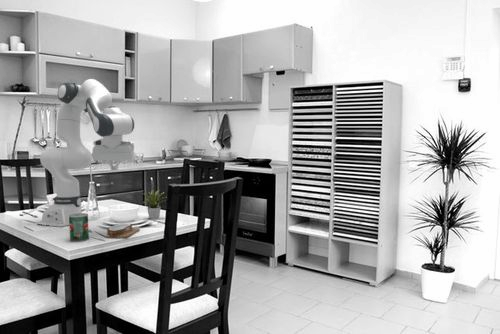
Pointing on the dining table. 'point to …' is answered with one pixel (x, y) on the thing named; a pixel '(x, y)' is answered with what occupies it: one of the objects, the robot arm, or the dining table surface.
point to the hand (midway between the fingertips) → (114, 170)
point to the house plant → (153, 205)
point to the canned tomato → (78, 227)
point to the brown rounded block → (119, 229)
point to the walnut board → (127, 235)
